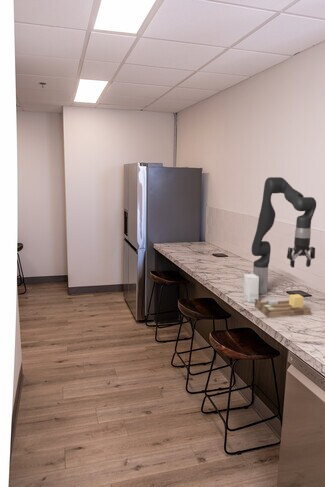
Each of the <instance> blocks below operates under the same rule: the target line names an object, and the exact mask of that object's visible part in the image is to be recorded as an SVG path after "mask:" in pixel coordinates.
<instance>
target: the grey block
mask: <svg viewBox="0 0 325 487" xmlns="http://www.w3.org/2000/svg"><path fill="white" fill-rule="evenodd" d="M278 301H279V300H276V299H268V301H267V302H268V304H270V305H276V304H278Z"/></svg>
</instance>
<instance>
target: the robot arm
mask: <svg viewBox="0 0 325 487" xmlns="http://www.w3.org/2000/svg"><path fill="white" fill-rule="evenodd" d="M273 194H283V195H284V196H283V197H284V199H285V200H286V201H287V202H289V203H290V204H291V206H292V207H293V208H294V209H295V211H297V212H304V213H303V214H301V215H298V216H297V217H296V221H295V222H296V223H295V225H296V226H295V231H294V243H293V245H294V247H290V246H289V247H288V248H287V253H286V254H287V255H286V259H289V261H290V264H289V266H290V267H291V268H295V262H296V261H295V260H296V258H298V257H306V263H305V266H306V267H307V268H310V266H311V264H312V263H311V261H312V260H315V258H316V248H315V247H314V246H310V245H311V237H312V236H311V233H312V231H311V229H312V220H313V217H314V214H315V211H316V209H317V201H316V199H315V197H312V196H307V197H306V196H304V194H302V193H301V192H300V191H298V190H296V189H295V188H293V187H292V186H291V184H289V182H288V181H287V180H286V179H285V178H284V177H280V176H278V177H277V176H276V177H275V176H274V177H272V176H271V177H270V176H269V177H267V178H266V179H265V181H264V186H263V194H262V195H263V196H262V202H261V207H260V212H259V215H258V216H259V217H258V220H257V227H256V231H255V234H254V237H253V240H252V241H253V242H252V245H251V254H252V256H254V257H259V258H258V259H256V260H254V261H253V269H252V274H255V275H256V276H258V277H259V294H258V295H265V294H267V293H268V284H269V283H268V281H269V264H270V261H271V260H270V258H271V249H272V248H271V244H270V242H269V241H267V240H263V238H264V237H265V235H266V234H267V233H268V232H269V231H271V229H272V228H273V226H274V224H275V219H276V211H275V208H274V206H273V203H272V196H273Z"/></svg>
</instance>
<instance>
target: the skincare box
mask: <svg viewBox="0 0 325 487" xmlns="http://www.w3.org/2000/svg"><path fill="white" fill-rule="evenodd" d="M259 295H260V294H259V277H258V276H256V275H255V274H253V273H245V274H243V299H244V300H245V301H247V303H250V304H251V303H255V299H257V300H258V301H259Z"/></svg>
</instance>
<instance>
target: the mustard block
mask: <svg viewBox="0 0 325 487" xmlns="http://www.w3.org/2000/svg"><path fill="white" fill-rule="evenodd" d="M288 298H289V299H288V300H289V304H290V305H291V306H293V307H303V306H304V301H305V300H304V299H305V298H304V296H302V295H301V294H289V297H288Z"/></svg>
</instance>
